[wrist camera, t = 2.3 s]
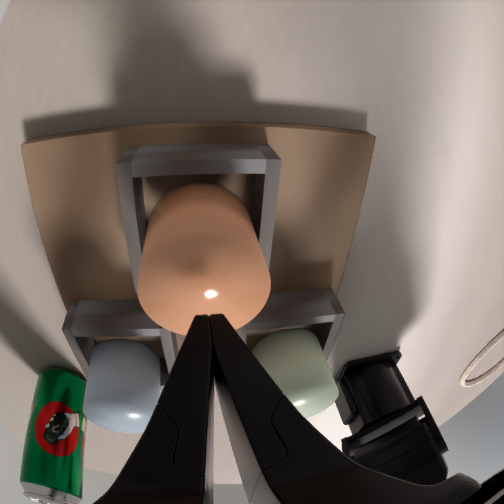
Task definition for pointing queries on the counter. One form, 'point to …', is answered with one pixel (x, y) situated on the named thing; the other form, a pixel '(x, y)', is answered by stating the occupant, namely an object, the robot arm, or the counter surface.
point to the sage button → (298, 369)
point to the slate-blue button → (122, 385)
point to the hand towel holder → (476, 360)
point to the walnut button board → (188, 171)
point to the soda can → (55, 439)
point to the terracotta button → (201, 259)
